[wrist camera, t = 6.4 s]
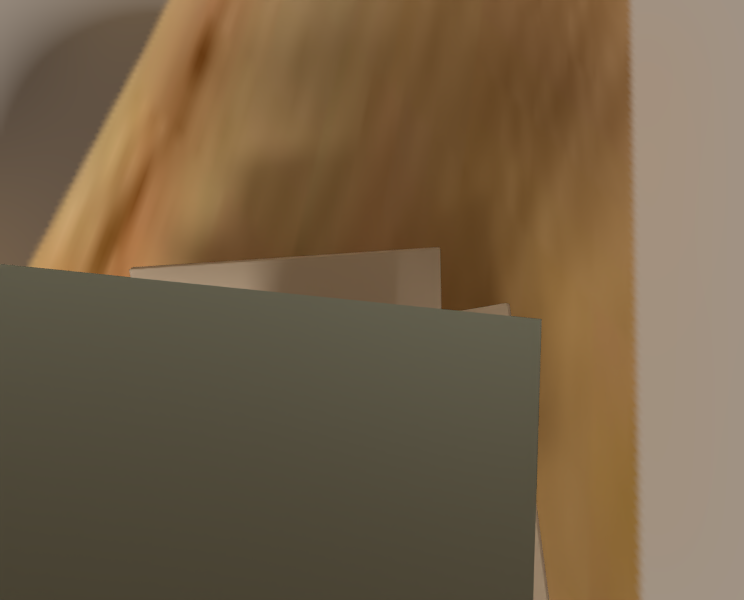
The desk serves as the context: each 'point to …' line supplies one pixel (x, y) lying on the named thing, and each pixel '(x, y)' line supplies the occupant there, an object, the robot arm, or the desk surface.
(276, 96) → the desk surface
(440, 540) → the box
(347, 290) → the carton
